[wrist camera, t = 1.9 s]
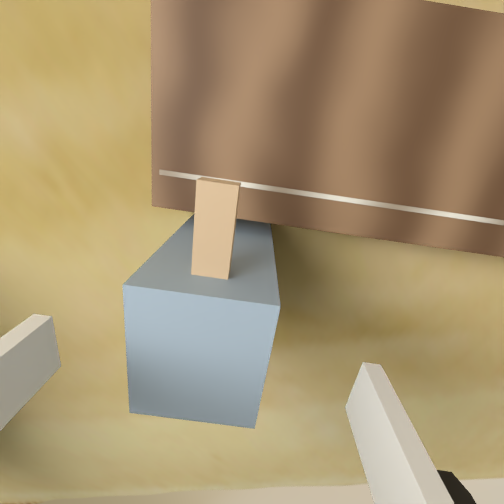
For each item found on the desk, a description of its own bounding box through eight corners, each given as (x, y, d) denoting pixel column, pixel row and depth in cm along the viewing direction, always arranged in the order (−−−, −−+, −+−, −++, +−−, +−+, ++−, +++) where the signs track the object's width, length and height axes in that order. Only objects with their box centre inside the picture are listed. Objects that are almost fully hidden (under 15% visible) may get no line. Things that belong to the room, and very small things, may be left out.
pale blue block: (192, 287, 23) (129, 412, 12) (199, 159, 19) (116, 174, 8) (257, 296, 24) (254, 428, 12) (279, 170, 19) (303, 202, 8)
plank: (171, 195, 20) (151, 206, 17) (176, 0, 16) (149, -47, 12) (540, 249, 21) (602, 271, 17) (645, 75, 17) (759, 54, 13)
